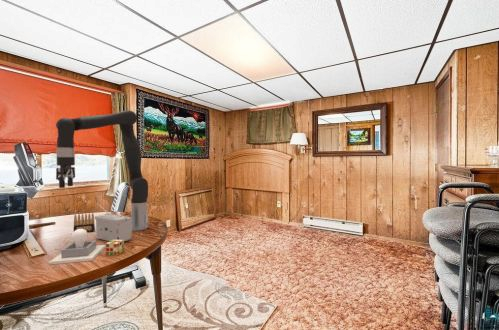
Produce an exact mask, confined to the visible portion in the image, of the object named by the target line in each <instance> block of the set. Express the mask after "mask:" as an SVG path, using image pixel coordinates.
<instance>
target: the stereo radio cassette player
mask: <svg viewBox="0 0 499 330" xmlns="http://www.w3.org/2000/svg"><path fill="white" fill-rule="evenodd" d="M97 205H98V206H99V207H101V209H102V210H103V211H104V212H106V213H103V214H98V215H94V220H95V222H96V224H95V225H96V226H95V233H96V236H95V237H96V238H97V239H99V240H103V241H106V242H109V241H111V240H124V242H127V241H129V240H131V239H132V236H133V235H132V234H133V233H132V231H133V230H132V221H131V216H126V215H119V214H113V213H110V212H108V211H107V210H106V209H105V208H104V207H102V206H101V205H100V204H99V203H97Z"/></svg>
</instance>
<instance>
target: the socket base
mask: <svg viewBox="0 0 499 330" xmlns="http://www.w3.org/2000/svg"><path fill="white" fill-rule="evenodd" d="M104 249H106V244H102V245H101V244H100V245H99V244H98V245H97V240H89V241H86V240H85V242H84V246H83V248H76V246H75V243H74V242H73V241H72V242H71V243H70V244H68V245H66V247H64V248H63V249H61V252H60V254H58V255H56V256H55V257H54V258H53V259H51V260H50V261H48V262H49V265H61V264H71V263H81V262H91V261H94V259H96V257H97V256H99V255H100V254H101V252H102V251H103V250H104Z"/></svg>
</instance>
